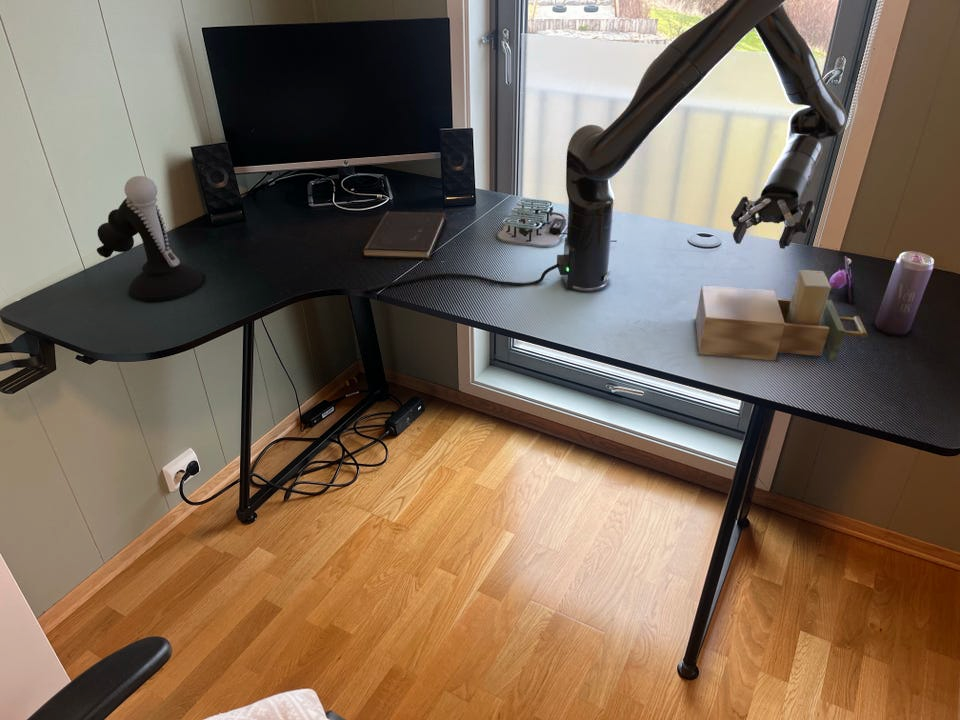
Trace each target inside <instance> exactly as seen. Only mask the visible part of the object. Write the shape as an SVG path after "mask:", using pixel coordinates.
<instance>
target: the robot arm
mask: <svg viewBox="0 0 960 720" xmlns="http://www.w3.org/2000/svg"><path fill="white" fill-rule="evenodd" d="M786 1H787V0H726V1H724V3H723V4H722V5H721V6H719V7H718V8H717V9H715V10H714V11H713V12H712V13H710V14H709V15H707V16H705V17H704V18H703V19H701V20H699V21H697V22H696V23H695V24H693V25H692V26H690V27H689V28H687V29H685V30H684V31H682V32H681V33H680V34H679V35H677V36H676V37H675V38H674V39H673V40H672V41H671V42H670V43H668V45H667V46H666V47H665V48H664V49H663V50H662V51H661V52H660V53H659V54H658V55H657V56H656V57H655V59H653V61H651V63H650V65H649V66H648V67H647V68H646V71H645V72H644V73H643V75H642V77H641V79H640V81H639V84H638V86H637V88H636V89H635V92H634V95H633V96H632V99H631V100H630V102H629V104H628V105H627V106H626V108H625V109H624V110H623V112H622V113H621V114H620V115H618V117H617V118H616V119H615V120H614V121H613V122H611V124H610V125H609V126H607V127H606V128H603V127H602V126H600V125H597V124H587V125H584V126H581V127H579V128H578V129H576V130H575V132H574V133H573V135H572V136H571V137H570V139H569V142H568V145H567V150H566V163H565V165H566V167H565V168H566V170H565V182H566V183H565V191H566V194H567V198H568V208H567V209H568V211H567V215H568V225H567V227H566V229H567V230H566V233H567V234H566V237H564V241H563V243H564V246H563V254H557V255H556V264H554V265H552V266H550V267H548V268H547V269H545V270H544V271H543V272H542V273H541V275H540V277H539V278H538V279H537V280H534V281H531V282H516V281H515V282H514V281H504V280H498V279H497V280H496V279H491V278H488V277H485V276H481V275H475V274H468V273H456V272H453V273H452V272H443V273H441V272H440V273H429V274H423V275H418V276H414V277H407V278H403V279H399V280H398V279H397V280H394V281H390V282H386V283H381V284H378V285H373V286H370V287H366V291H367V292H371V291H375V290H379V289H383V288H386V287H390V286H395V285H400V284H404V283H409V282H413V281H419V280H424V279H429V278H442V277H444V278H445V277H451V278H452V277H454V278H467V279H474V280H479V281H483V282H486V283H491V284H494V285H501V286H502V285H503V286H511V287H512V286H514V287H524V286H525V287H526V286H535V285H538V284H540V283H542V282H543V281H544V279H545V277H546V275H547V274H548V273H549V272H552V271H553V270H556V269H557V270H558V272H559V275H560V276H562V279H563V282H564V285H565V287H566V290H575V291H578V292H585V293H586V292H587V293H588V292H589V293H590V292H596V291H600V290H602V289H604V288H605V287H606V286H607V285H608V277H610V275H611V270H609V261H610V251H611V242H610V241H612V230H613V229H612V228H613V218H614V207H615V195H614V192H613V190H612V187H611V184H610V183H611V182H610V179H612V178H613V177H615V176H616V175H617V174H618V173H619V172H620V171H621V170H622V169H623V168H624V167H625V165H627V163H628V162H629V161H630V159H631V158H632V157H633V155H634V154H635V153H636V151H637V150H638V149H639V147H641V145H642V144H643V143H644V142H645V140H646V139H647V138H648V137H649V136H650V135H651V133H653V131H654V130H655V129H656V128H657V127H658V126H659V125H660V124H661V123H662V122H663V121H664V120H665V119H666V118H667V117H668V116H669V115H670V114H671V113H672V112H673V110H675V108H677V106H678V105H680V103H682V101H684V100H685V99H686V97H688V96H689V95H690V94H691V93H692V92H693V91H694V90H695V89H696V88H697V87H698V85H700V84H701V82H702V81H704V79H705V78H706V77H707V76H708V75H709V74H710V73H711V72H712V71H713V69H714V68H716V67H717V65H719V64H720V62H721V61H723V59H725V57H726V56H728V55H729V54H730V52H732V51H733V50H734V48H735V47H736V46H737V45H738V44H739V43H740V41H742V40H743V39H744V38H745V37H746V36H747V35H748V34H749V33H750V32H751V31H753V29H754V30H755V32H756V33H757V36H758V37H759V39H760V40H761V43H762V44H763V46H764V48H765V51H766V52H767V53H768V57H769V58H770V61H771V63H772V65H773V67H774V70H775V72H776V75H777V77H778V80H779V83H780V85H781V88H782V91H783V92H784V96H785V98H786V100H787V101H788V102H789V103H790V104H792V105H798V106H802V107H800V108H798V109H797V110H795V111H794V112H793V113H792V114H791V115H790V117H789V120H788V128H787V136H786V144H785V146H784V148H783V150H782V153H781V155H780V156H779V158H778V159H777V161H776V163H775V164H774V166H773V168H772V170H771V172H770V174H769V176H768V178H767V180H766V182H765V184H764V186H763V188H762V190H761V192H760V196H759V197H758V198H757V199H755V200H752V199H749V198H748V196H742V197H741V199H740V200H739V202H738V204H737V206H736V208H734V211H733V212H732V214H731V216H730V218H731V222H732V226H733V227H734V228H735V229H734V231H733V233H732V237H733V241H734V242H735V244H736V245H737V244H739V245H740V244H741V243H742V241H743V239H744V237H745V235H746V233H747V230H748V229H749V228H751V227H752V226H754V227H756V226H757V225H759V224H761V223H774V224H780V223H783V224H784V226H785V227H784V230H783V232H782V234H781V236H780V238H779V241H778V245H779V249H782V250H785V249H786V247H789V246H790V245H791V242H792V241H793V239H794V236H795V235H796V234H797V233H801V234H806V233H808V231H809V229H810V225H811V223H812V221H813V218H814V214H815V211H816V209H815V204H814V201H813V200H808V201H806V203H801V202H802V201H803V198H804V196H805V194H806V192H807V190H808V188H809V186H810V184H811V182H812V179H813V176H814V173H815V169H816V168H817V165H818V163H819V161H820V159H821V157H822V155H823V151H824V147H823V146H824V145H823V143H822V140H825V139H830V138H835V137H837V136H839V135H840V134H842V133H843V131H844V130H845V127H846V125H847V112H846V109H845V107H844V105H843V103H842V102H841V100H840V99H839V98H838V97H837V95H835V93H834V92H833V91H832V89H831V88H830V87H829V85H828V84H827V83H826V81H824V79H823V76H822V73H821V70H820V68H819V65H818V62H817V60H816V58H815V55H814V53H813V50H812V49H811V47H810V46H809V44H808V42H807V41H806V40H805V38H804V37H803V35H802V34H801V32H799V30H798V28H797V27H796V26H795V25H794V23H793V22H792V20H791V18H790V16H789V15H788V13H787V11H786V9H785V7H784V3H785V2H786ZM799 212H800V213H801V215H800V219H799V221H796V222H795V220H794V218H793V216H795V215H796V214H797V213H799ZM756 215H757V217H756Z"/></svg>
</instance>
